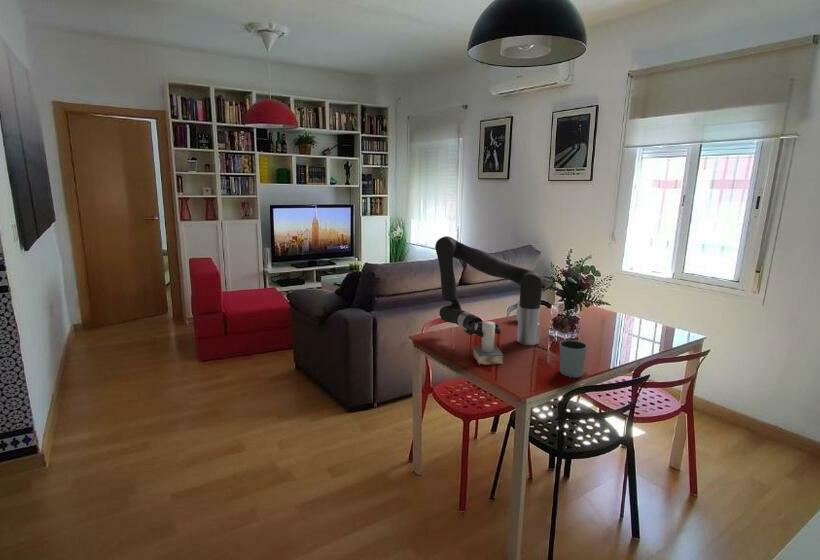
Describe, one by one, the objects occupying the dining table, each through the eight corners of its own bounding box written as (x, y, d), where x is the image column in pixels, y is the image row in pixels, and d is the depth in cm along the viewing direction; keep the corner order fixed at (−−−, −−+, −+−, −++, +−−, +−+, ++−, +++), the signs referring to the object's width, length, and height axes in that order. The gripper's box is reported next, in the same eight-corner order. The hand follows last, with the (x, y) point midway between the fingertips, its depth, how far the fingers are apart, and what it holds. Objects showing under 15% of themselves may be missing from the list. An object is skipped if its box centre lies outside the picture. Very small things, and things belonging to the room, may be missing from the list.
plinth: (495, 354, 196) (496, 345, 195) (502, 363, 187) (503, 354, 186) (473, 355, 195) (473, 346, 194) (478, 364, 186) (479, 355, 185)
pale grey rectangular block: (491, 348, 193) (493, 320, 190) (495, 352, 188) (496, 324, 185) (479, 348, 192) (481, 321, 190) (483, 352, 187) (484, 325, 185)
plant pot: (588, 378, 173) (591, 349, 171) (561, 378, 173) (564, 348, 171) (579, 367, 183) (581, 339, 180) (554, 367, 183) (556, 339, 181)
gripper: (456, 316, 197) (477, 326, 183) (483, 312, 203) (505, 322, 189) (455, 332, 199) (476, 344, 185) (482, 328, 205) (504, 339, 191)
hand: (491, 333), depth 187 cm, fingers open, 8 cm apart
